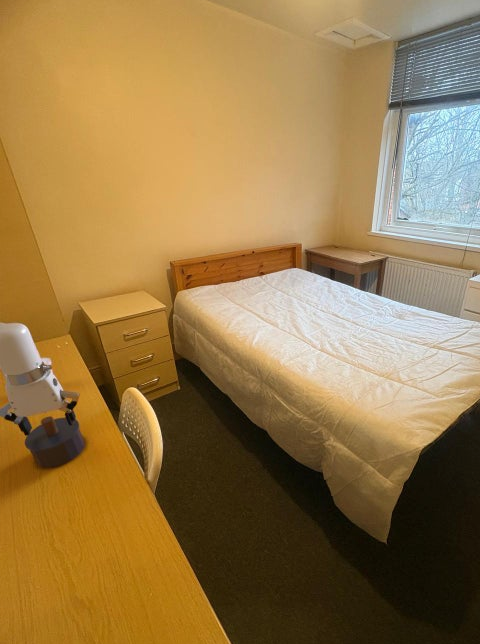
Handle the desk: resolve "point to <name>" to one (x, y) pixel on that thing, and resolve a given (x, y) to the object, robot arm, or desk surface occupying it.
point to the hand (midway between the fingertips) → (50, 426)
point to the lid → (51, 434)
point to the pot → (60, 452)
